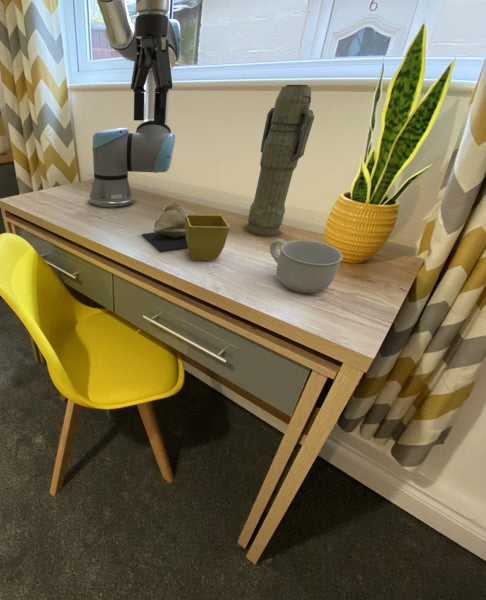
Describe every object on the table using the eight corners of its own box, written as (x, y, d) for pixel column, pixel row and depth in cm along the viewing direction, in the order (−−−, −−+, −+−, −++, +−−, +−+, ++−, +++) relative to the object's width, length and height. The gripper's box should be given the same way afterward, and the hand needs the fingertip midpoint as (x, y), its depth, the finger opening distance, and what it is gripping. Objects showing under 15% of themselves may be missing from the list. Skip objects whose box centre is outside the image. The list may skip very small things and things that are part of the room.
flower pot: (181, 249, 83) (185, 213, 78) (216, 249, 83) (222, 214, 78) (185, 264, 75) (189, 226, 71) (223, 265, 75) (230, 227, 70)
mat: (141, 235, 90) (141, 234, 90) (193, 228, 95) (193, 227, 95) (160, 252, 81) (160, 250, 81) (216, 244, 86) (216, 242, 85)
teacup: (341, 294, 65) (357, 257, 60) (298, 304, 61) (311, 265, 57) (290, 264, 76) (300, 231, 71) (250, 271, 73) (258, 237, 68)
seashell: (161, 226, 80) (168, 189, 82) (142, 237, 88) (150, 203, 90) (207, 246, 85) (213, 211, 87) (185, 254, 94) (191, 222, 96)
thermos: (272, 240, 88) (312, 84, 69) (235, 228, 96) (263, 84, 77) (290, 233, 92) (332, 85, 74) (254, 222, 100) (284, 85, 82)
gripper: (118, 23, 83) (119, 119, 94) (160, 2, 63) (154, 126, 75) (146, 25, 85) (143, 118, 97) (194, 5, 65) (184, 125, 77)
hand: (148, 122), depth 86 cm, fingers open, 13 cm apart
